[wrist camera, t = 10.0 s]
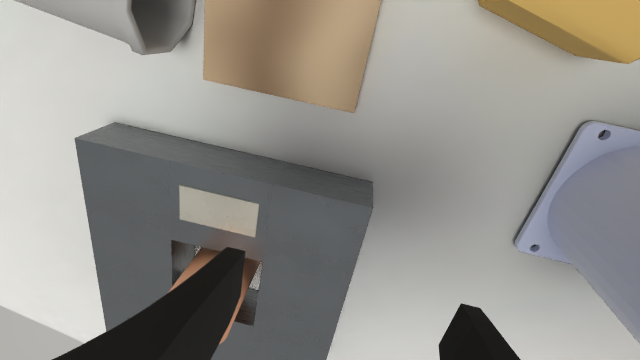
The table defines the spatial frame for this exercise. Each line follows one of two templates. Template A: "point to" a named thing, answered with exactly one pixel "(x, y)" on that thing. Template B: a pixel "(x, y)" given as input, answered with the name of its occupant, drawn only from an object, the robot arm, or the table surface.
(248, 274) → the peg
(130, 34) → the tube
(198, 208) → the grey square slab
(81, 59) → the table surface
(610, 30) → the rubber stamp
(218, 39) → the tan square tile
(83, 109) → the table surface
